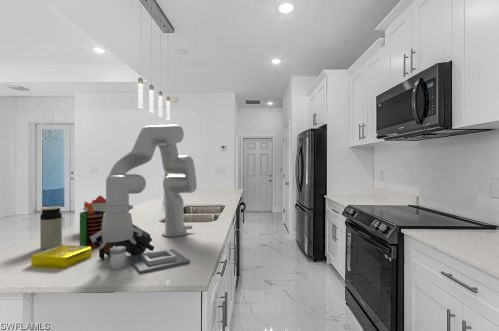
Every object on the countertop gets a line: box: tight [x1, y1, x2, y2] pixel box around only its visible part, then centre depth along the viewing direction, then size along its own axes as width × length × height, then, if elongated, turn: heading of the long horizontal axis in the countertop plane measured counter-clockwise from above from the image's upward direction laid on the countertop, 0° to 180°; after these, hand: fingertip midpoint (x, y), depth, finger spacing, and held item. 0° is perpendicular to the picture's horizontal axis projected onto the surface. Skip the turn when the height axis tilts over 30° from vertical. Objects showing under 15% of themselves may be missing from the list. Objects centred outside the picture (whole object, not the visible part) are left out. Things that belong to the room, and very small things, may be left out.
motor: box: [79, 201, 105, 250], centre depth 130 cm, size 10×9×20 cm
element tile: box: [30, 244, 92, 270], centre depth 111 cm, size 15×15×5 cm
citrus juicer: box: [82, 195, 106, 213], centre depth 161 cm, size 16×17×20 cm
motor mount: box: [128, 249, 191, 274], centre depth 110 cm, size 18×18×2 cm
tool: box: [104, 223, 155, 258], centre depth 117 cm, size 6×19×15 cm, turn 95°
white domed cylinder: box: [109, 246, 127, 271], centre depth 103 cm, size 5×5×7 cm
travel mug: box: [39, 205, 63, 251], centre depth 129 cm, size 8×8×18 cm
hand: (117, 256), depth 103 cm, fingers open, 9 cm apart
